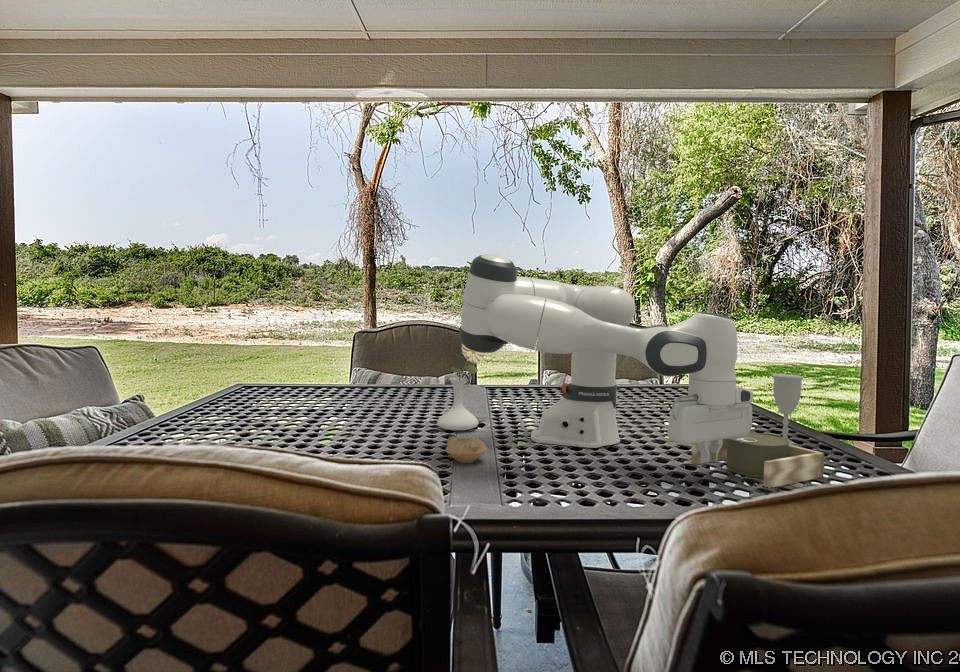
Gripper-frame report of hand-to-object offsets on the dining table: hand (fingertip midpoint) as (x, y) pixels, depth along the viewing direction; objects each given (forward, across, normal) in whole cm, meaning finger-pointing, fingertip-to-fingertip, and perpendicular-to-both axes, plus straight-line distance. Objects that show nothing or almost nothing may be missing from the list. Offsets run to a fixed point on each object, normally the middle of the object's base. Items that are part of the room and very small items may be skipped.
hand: (709, 461), depth 121 cm
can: (+4, +14, 0) cm, 15 cm away
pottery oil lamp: (+4, -38, +34) cm, 51 cm away
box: (+3, +14, 0) cm, 14 cm away
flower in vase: (+4, -26, +62) cm, 67 cm away
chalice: (+4, +36, +9) cm, 37 cm away
